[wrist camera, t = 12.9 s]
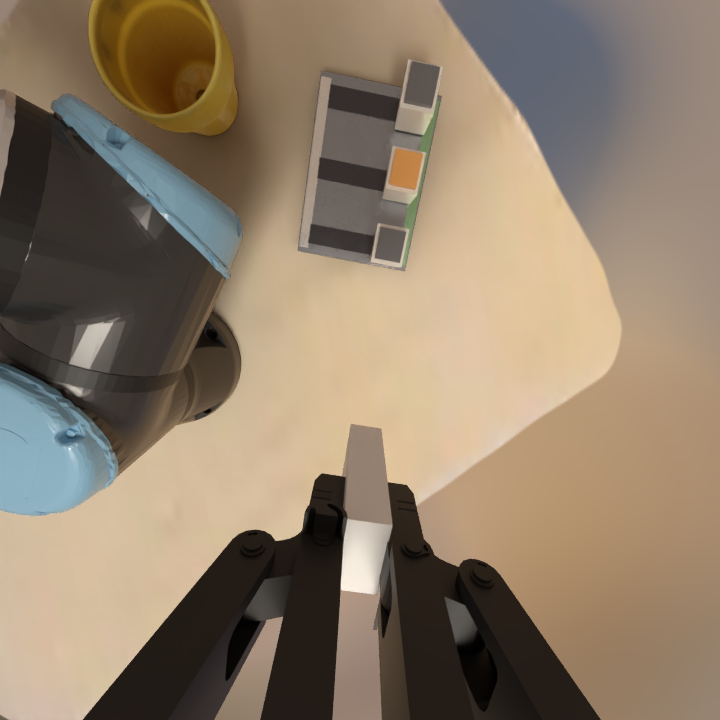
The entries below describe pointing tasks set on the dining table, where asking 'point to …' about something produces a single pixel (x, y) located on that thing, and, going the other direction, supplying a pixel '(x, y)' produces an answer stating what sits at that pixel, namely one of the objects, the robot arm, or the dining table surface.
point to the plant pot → (166, 62)
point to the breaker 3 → (389, 245)
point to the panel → (356, 169)
